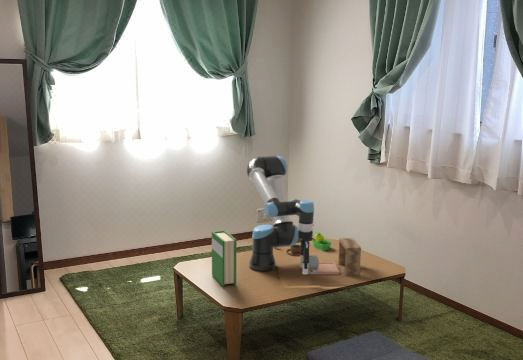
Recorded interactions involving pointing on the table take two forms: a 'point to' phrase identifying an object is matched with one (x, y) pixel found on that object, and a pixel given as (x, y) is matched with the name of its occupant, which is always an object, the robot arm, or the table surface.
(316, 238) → the fruit basket
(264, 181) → the robot arm
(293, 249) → the place setting
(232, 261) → the hardback book
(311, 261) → the ceramic mug
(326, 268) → the tray
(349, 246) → the shelf
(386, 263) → the table surface
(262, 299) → the table surface
